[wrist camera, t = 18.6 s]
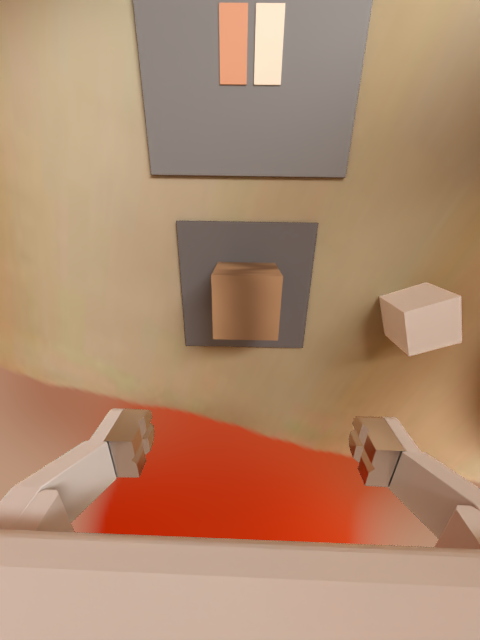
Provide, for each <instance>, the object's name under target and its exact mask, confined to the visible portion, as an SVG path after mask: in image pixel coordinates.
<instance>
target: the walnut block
mask: <svg viewBox="0 0 480 640" xmlns="http://www.w3.org/2000/svg"><path fill="white" fill-rule="evenodd" d="M282 284H283V275H282V274H281V272H280V270H279V269H278V267H277V265H276V263H250V262H218V263H217V265H216V267H215V269H214V271H213V273H212V274H211V287H212V321H213V339H226V340H275V341H278V334H279V322H280V309H281V297H282Z"/></svg>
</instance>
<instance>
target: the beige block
mask: <svg viewBox="0 0 480 640" xmlns="http://www.w3.org/2000/svg"><path fill="white" fill-rule="evenodd" d="M379 300H380V307H381V314H382V321H383V328H384V334H385V336H387V337H388V338H389V339H390V340H391V341H392V342H393V343H394V344H396V345H397V346H398V347H399V348H400V349H401V350H402V351H403V352H404V353H406V354H407V355H408V356H413V355H416V354H420V353H424V352H428V351H431V350H435V349H439V348H443V347H446V346H450V345H454V344H458V343H461V342H462V310H461V296H460V295H458V294H455V293H453V292H450V291H448V290H445V289H443V288H440V287H437V286H435V285H432V284H430V283H427V282H425V283H421V284H418V285H415V286H411V287H408V288H405V289H401V290H398V291H395V292H392V293H388V294H385V295H382V296H379Z"/></svg>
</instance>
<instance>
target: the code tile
mask: <svg viewBox="0 0 480 640" xmlns="http://www.w3.org/2000/svg"><path fill="white" fill-rule="evenodd" d="M372 1H373V0H133V5H134V15H135V24H136V34H137V43H138V53H139V62H140V72H141V81H142V91H143V100H144V110H145V119H146V129H147V138H148V148H149V157H150V167H151V175H194V176H265V177H336V178H345V177H346V171H347V165H348V158H349V152H350V145H351V139H352V132H353V126H354V119H355V113H356V106H357V100H358V93H359V86H360V80H361V73H362V67H363V60H364V54H365V47H366V41H367V34H368V28H369V21H370V15H371V8H372Z"/></svg>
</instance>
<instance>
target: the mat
mask: <svg viewBox="0 0 480 640" xmlns="http://www.w3.org/2000/svg"><path fill="white" fill-rule="evenodd" d="M176 223H177V236H178V249H179V262H180V275H181V288H182V301H183V314H184V327H185V340H186V346H231V347H280V348H303V341H304V333H305V325H306V317H307V309H308V301H309V293H310V285H311V277H312V269H313V261H314V253H315V245H316V237H317V228H318V223H287V222H224V221H176ZM218 262H250V263H276V265H277V267H278V269H279V270H280V272H281V274H282V275H283V284H282V297H281V309H280V322H279V334H278V341H275V340H226V339H213V321H212V287H211V274H212V273H213V271H214V269H215V267H216V265H217V263H218Z"/></svg>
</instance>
